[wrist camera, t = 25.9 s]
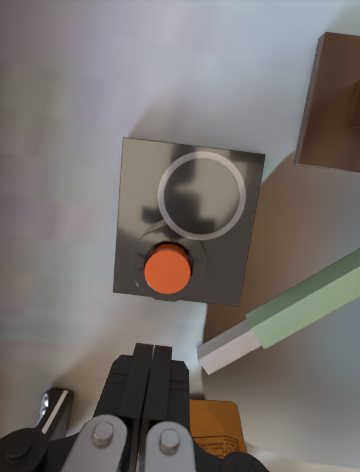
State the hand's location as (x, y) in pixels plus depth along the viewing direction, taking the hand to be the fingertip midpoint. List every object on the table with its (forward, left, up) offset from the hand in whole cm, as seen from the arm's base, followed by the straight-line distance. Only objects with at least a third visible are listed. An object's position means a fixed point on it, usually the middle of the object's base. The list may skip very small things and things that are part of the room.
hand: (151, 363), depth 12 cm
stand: (-20, +4, -16) cm, 26 cm away
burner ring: (-6, -2, -13) cm, 14 cm away
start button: (0, 0, -13) cm, 13 cm away
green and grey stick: (-4, +14, -15) cm, 21 cm away
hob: (-3, -1, -16) cm, 16 cm away
